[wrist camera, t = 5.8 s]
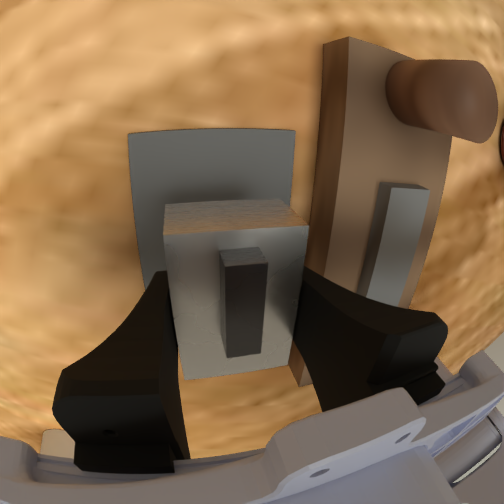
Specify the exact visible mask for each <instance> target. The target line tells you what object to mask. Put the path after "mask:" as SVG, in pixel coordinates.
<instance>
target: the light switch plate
mask: <svg viewBox="0 0 504 504" xmlns="http://www.w3.org/2000/svg"><path fill="white" fill-rule="evenodd" d="M308 231H309V225H308V224H307V223H306V222H305V221H304V220H303V219H302V218H301V217H300V216H298V215H297V214H296V213H295V212H294V211H293V210H292V209H291V208H290V207H289V206H288V205H287V204H285V203H284V202H283V201H282V200H281V199H280V198H276V199H247V200H225V201H207V202H191V203H176V204H165V215H164V230H163V239H164V249H165V258H166V267H167V275H168V283H169V290H170V298H171V305H172V311H173V318H174V324H175V330H176V336H177V342H178V348H179V353H180V359H181V364H182V369H183V374H184V379H185V380H190V379H200V378H208V377H216V376H224V375H231V374H238V373H244V372H251V371H257V370H263V369H268V368H274V367H279V366H284V365H288V360H289V354H290V349H291V343H292V338H293V332H294V326H295V320H296V314H297V308H298V302H299V295H300V289H301V282H302V275H303V268H304V261H305V254H306V247H307V239H308Z"/></svg>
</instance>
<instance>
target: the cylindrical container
mask: <svg viewBox="0 0 504 504" xmlns="http://www.w3.org/2000/svg"><path fill="white" fill-rule="evenodd" d="M74 448H75V441H74V440H73V439H72V438H71V437H70V436H69V435H68V433H67V432H66V431H65V430H59V429H50V430H46V431H44V433H43V437H42V443H41V451H40V454H44V455H51V456H57V457H65V458H73V459H74Z"/></svg>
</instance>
